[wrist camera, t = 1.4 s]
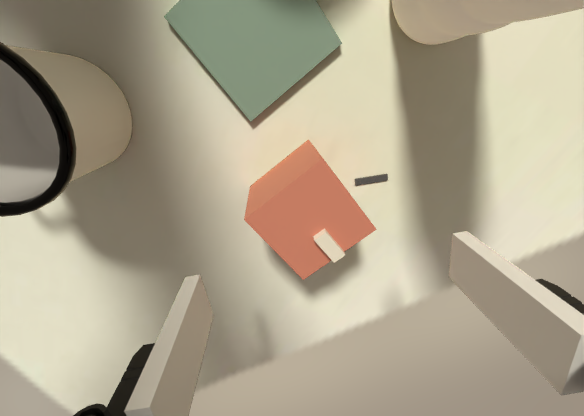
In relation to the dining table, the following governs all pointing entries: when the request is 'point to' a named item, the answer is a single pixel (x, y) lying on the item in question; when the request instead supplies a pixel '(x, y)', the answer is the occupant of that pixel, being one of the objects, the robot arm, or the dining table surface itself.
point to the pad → (255, 44)
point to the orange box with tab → (305, 212)
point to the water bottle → (469, 16)
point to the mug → (54, 125)
